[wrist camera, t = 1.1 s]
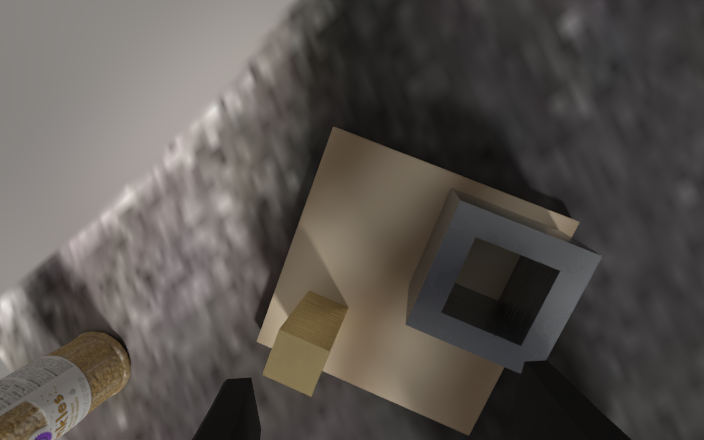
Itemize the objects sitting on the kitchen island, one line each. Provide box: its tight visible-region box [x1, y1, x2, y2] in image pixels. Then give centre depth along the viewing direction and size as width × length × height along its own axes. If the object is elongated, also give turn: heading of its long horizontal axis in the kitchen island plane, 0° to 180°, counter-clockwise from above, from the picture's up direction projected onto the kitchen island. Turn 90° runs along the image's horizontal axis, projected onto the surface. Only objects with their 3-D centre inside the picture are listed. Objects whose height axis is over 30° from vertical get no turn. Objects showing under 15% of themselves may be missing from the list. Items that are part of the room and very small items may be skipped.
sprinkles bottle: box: [0, 331, 131, 440], centre depth 21 cm, size 5×5×13 cm
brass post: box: [262, 291, 348, 396], centre depth 21 cm, size 2×2×6 cm
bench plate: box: [257, 127, 579, 436], centre depth 23 cm, size 13×13×1 cm
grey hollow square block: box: [405, 188, 602, 374], centre depth 19 cm, size 6×6×5 cm
